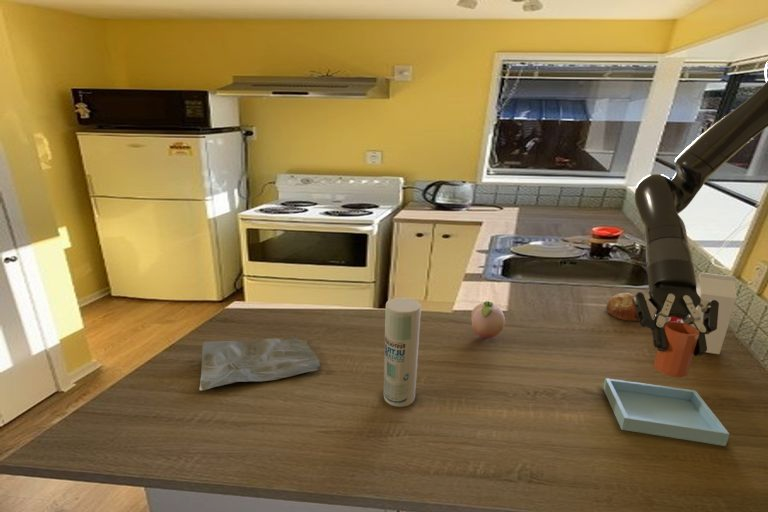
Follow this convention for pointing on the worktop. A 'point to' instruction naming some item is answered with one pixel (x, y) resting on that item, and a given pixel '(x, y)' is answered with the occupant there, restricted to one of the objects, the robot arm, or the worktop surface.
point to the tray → (664, 412)
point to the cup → (677, 349)
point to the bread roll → (622, 307)
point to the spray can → (401, 350)
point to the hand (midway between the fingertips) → (680, 352)
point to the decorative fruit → (487, 320)
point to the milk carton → (726, 296)
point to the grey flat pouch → (254, 361)
